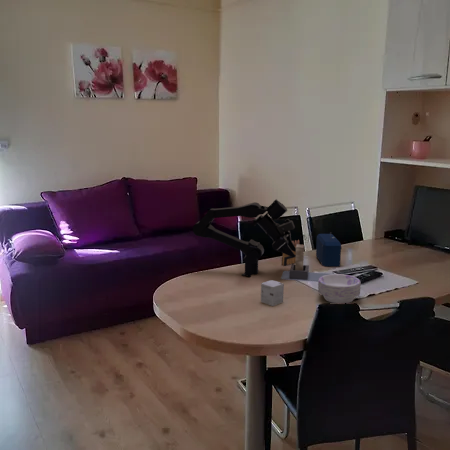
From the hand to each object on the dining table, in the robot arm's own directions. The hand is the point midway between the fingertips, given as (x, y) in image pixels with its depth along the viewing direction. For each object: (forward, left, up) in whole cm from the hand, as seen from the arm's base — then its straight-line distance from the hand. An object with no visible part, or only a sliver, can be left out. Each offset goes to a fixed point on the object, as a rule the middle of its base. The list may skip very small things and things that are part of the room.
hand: (295, 253), depth 196 cm
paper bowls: (-16, -24, -11) cm, 31 cm away
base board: (+2, -6, -11) cm, 13 cm away
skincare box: (-31, -4, -11) cm, 33 cm away
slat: (+1, -2, -9) cm, 9 cm away
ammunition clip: (+16, +9, -11) cm, 21 cm away
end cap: (+1, -2, -10) cm, 10 cm away
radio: (+30, -4, -11) cm, 32 cm away
